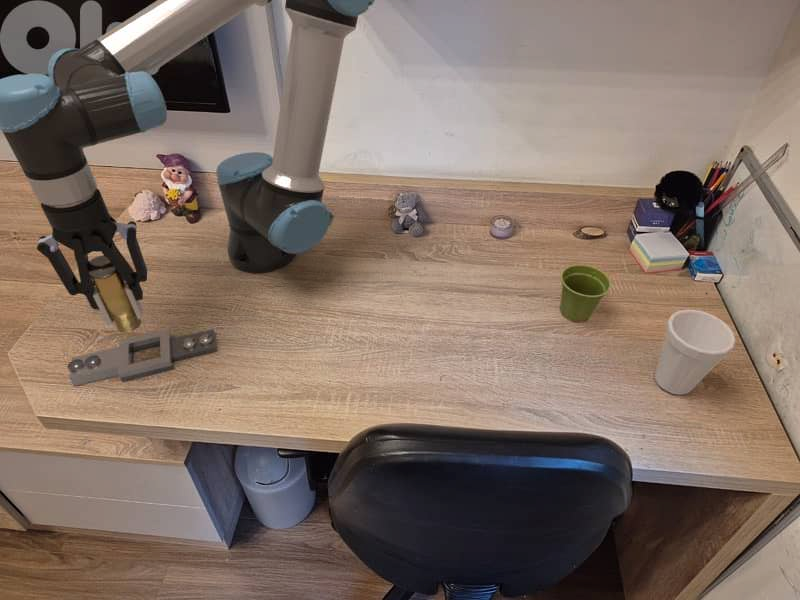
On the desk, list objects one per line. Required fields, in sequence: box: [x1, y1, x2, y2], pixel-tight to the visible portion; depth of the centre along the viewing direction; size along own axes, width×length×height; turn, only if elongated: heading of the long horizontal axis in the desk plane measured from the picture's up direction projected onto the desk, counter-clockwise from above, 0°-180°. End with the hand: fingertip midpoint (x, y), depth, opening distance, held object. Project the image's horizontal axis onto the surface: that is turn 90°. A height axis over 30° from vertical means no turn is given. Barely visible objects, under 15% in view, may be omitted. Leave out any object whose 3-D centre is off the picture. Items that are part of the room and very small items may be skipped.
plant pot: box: [559, 263, 612, 323], centre depth 103 cm, size 9×9×9 cm
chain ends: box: [67, 328, 218, 387], centre depth 95 cm, size 24×9×3 cm, turn 110°
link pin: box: [87, 254, 142, 333], centre depth 85 cm, size 5×5×13 cm
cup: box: [654, 309, 736, 396], centre depth 88 cm, size 10×10×13 cm
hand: (125, 316), depth 88 cm, fingers closed on link pin, 4 cm apart
